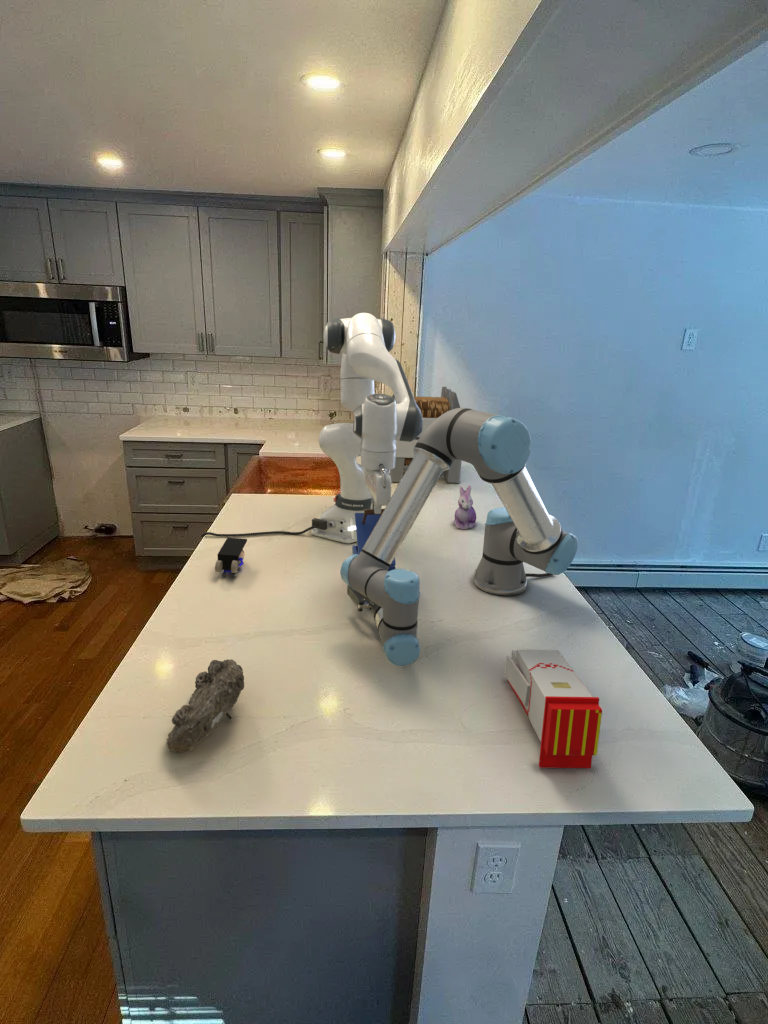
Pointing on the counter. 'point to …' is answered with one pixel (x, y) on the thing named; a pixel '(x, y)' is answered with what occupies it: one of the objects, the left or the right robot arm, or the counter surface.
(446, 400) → the transformer
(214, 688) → the fossil
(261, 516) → the counter surface
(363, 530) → the lid
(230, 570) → the figurine character
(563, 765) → the toy
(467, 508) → the figurine
